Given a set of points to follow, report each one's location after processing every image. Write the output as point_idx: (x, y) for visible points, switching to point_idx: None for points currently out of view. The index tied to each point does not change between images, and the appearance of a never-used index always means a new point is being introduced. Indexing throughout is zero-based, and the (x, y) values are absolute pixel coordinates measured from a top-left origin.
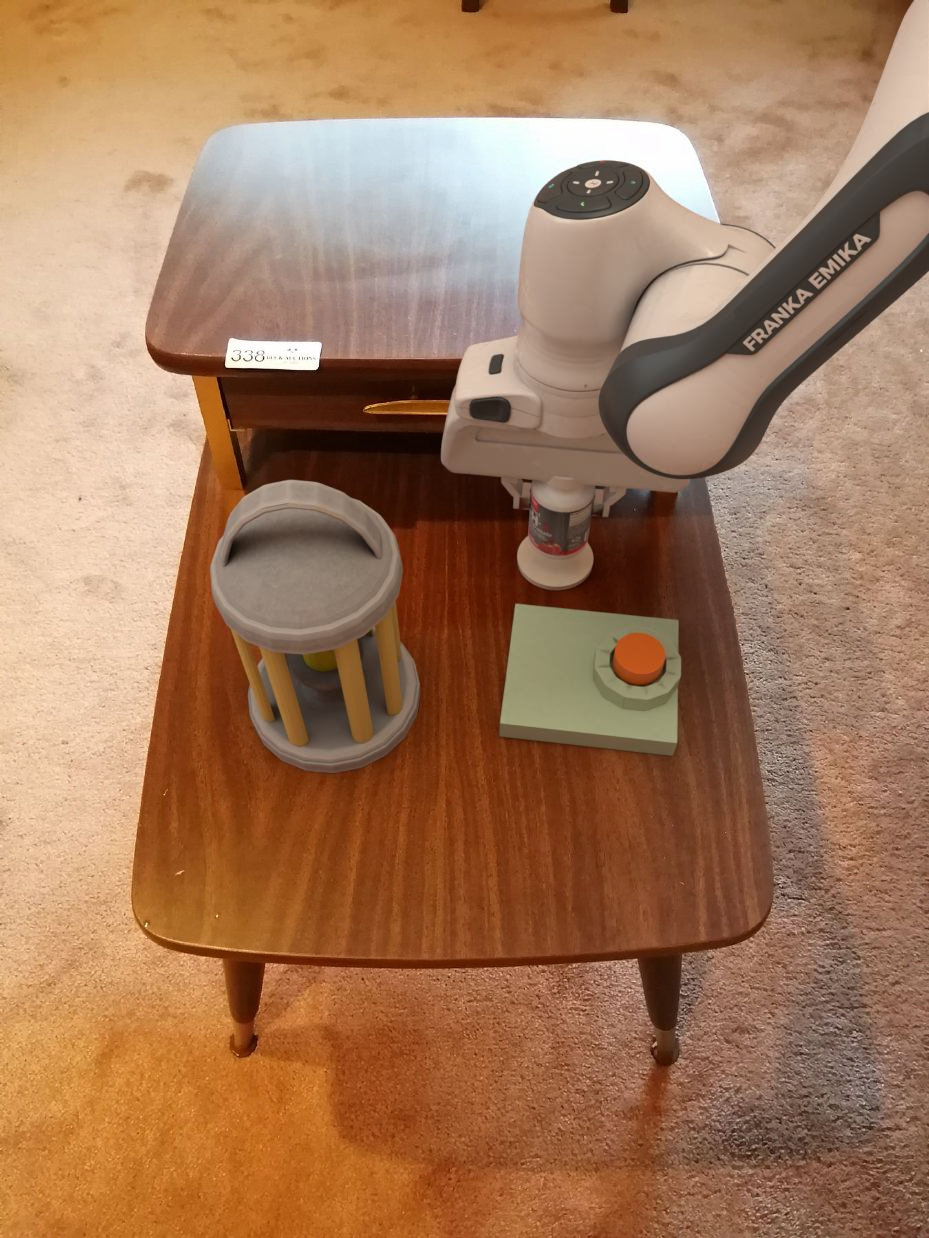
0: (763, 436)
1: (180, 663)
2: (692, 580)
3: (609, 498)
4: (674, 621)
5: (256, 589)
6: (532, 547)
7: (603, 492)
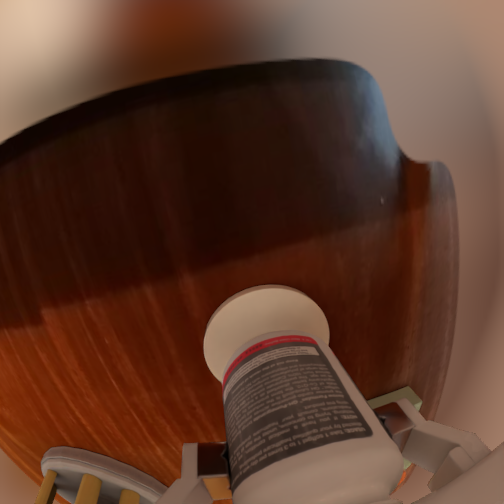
0: None
1: (7, 454)
2: (438, 311)
3: (420, 465)
4: (418, 405)
5: None
6: (226, 341)
7: (410, 436)
